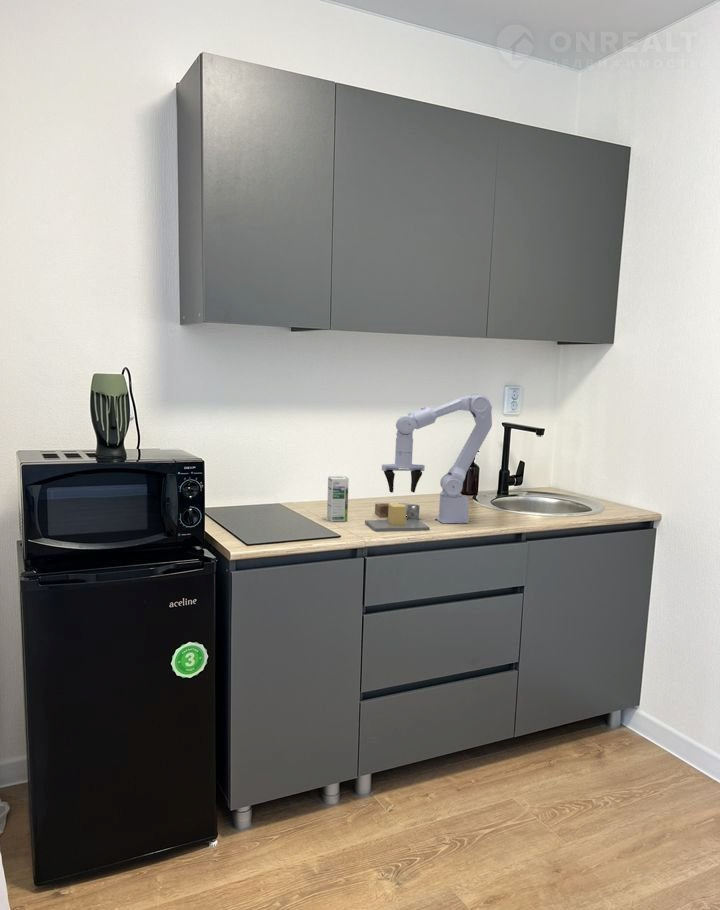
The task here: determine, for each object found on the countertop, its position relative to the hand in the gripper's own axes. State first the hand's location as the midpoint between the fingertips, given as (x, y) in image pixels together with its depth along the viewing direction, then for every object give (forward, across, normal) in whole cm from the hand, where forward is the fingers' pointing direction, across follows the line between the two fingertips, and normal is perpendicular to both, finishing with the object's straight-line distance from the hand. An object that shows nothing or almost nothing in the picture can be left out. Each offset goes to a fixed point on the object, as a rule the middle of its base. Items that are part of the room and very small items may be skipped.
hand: (402, 492), depth 236 cm
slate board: (+9, +5, +11) cm, 15 cm away
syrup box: (+10, +22, -1) cm, 24 cm away
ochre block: (+8, +5, +11) cm, 14 cm away
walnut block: (+10, +4, -6) cm, 12 cm away
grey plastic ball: (+9, -3, -6) cm, 12 cm away
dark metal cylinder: (+10, -4, +1) cm, 10 cm away
